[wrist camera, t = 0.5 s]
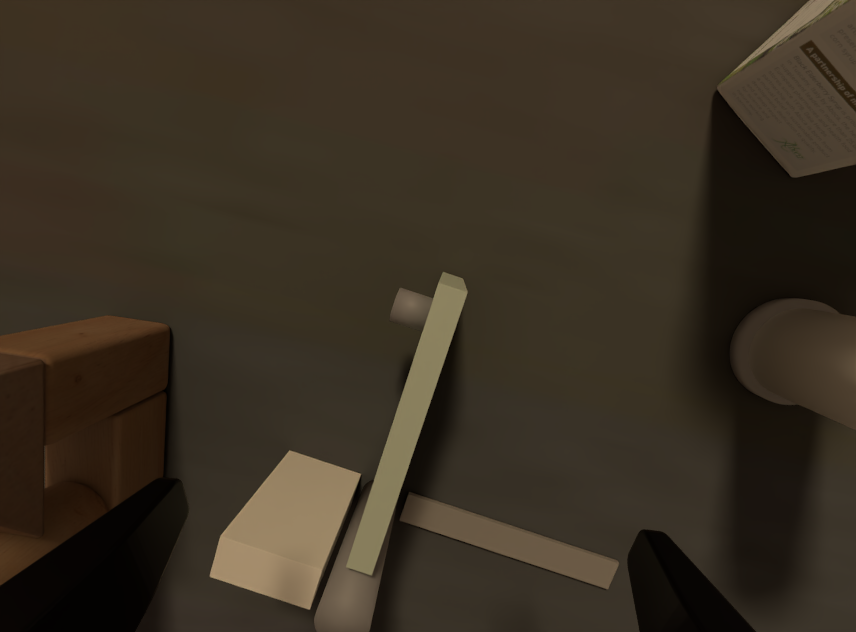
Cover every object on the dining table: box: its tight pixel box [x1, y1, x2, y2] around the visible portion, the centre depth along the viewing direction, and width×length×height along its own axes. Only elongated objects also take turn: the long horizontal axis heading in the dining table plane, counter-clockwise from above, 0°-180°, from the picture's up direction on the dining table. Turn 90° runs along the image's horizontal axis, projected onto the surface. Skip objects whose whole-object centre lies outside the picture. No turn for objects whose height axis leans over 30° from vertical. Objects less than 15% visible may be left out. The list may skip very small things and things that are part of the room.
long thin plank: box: [210, 451, 619, 632], centre depth 19 cm, size 18×2×8 cm, turn 72°
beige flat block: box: [346, 272, 468, 576], centre depth 19 cm, size 11×2×7 cm, turn 162°
